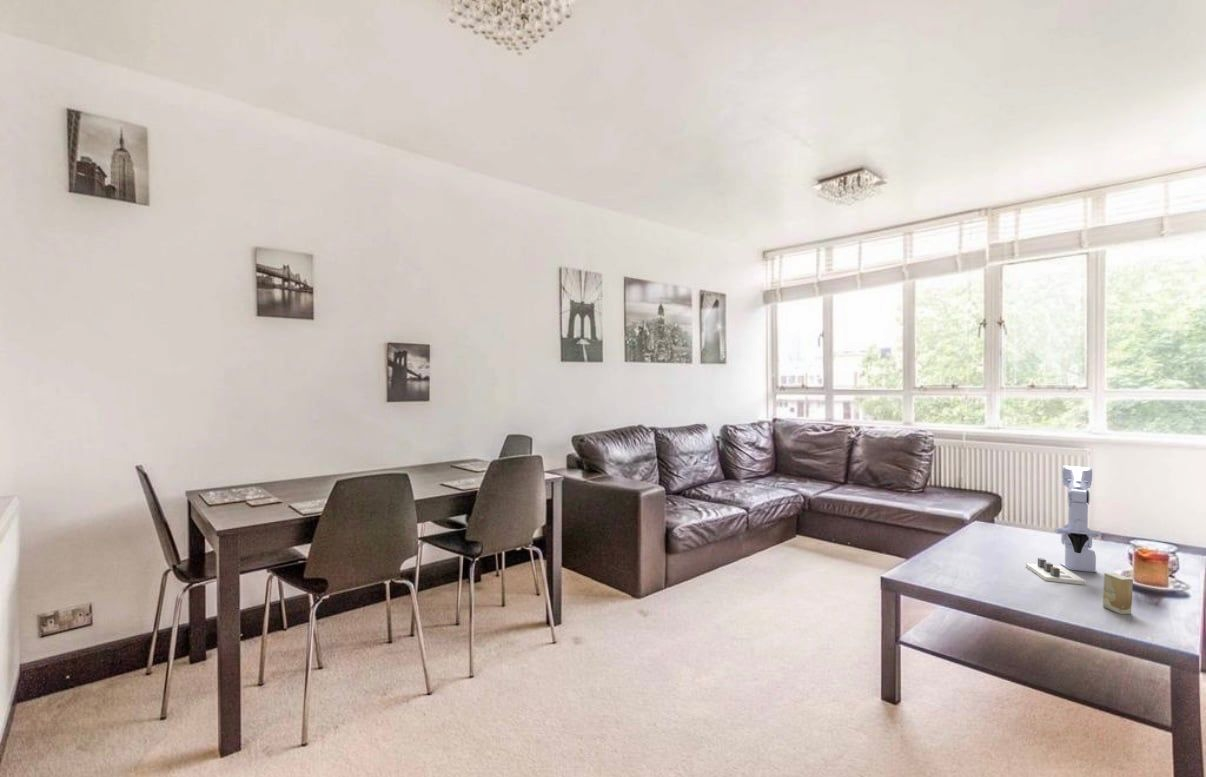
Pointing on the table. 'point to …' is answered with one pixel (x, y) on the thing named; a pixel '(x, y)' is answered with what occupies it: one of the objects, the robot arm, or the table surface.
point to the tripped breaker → (1055, 571)
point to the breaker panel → (1045, 572)
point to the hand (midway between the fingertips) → (1077, 552)
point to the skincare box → (1117, 593)
